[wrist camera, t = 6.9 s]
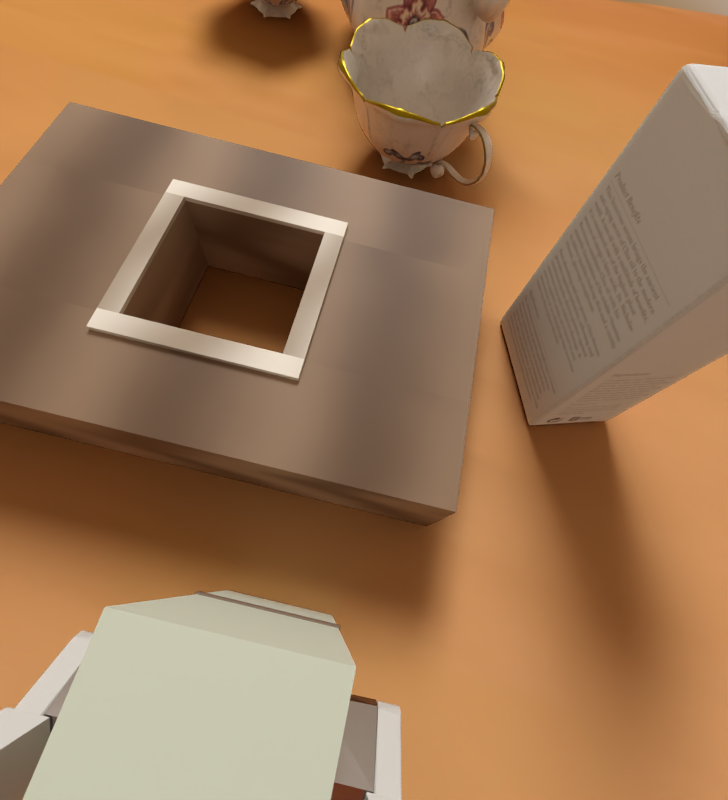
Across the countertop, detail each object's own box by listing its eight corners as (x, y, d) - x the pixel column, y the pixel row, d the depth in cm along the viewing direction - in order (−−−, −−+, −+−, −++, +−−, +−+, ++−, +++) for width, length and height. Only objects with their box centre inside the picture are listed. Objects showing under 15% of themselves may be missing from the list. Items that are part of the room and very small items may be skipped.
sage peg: (333, 613, 16) (360, 664, 7) (303, 747, 14) (283, 1065, 5) (226, 588, 16) (103, 602, 6) (184, 719, 14) (-63, 987, 5)
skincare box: (608, 422, 20) (959, 237, 9) (525, 428, 20) (794, 236, 9) (572, 316, 22) (816, 66, 12) (496, 318, 22) (679, 57, 11)
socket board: (465, 267, 23) (496, 205, 19) (426, 526, 17) (458, 511, 13) (109, 178, 23) (67, 97, 19) (-49, 410, 17) (-155, 361, 13)
